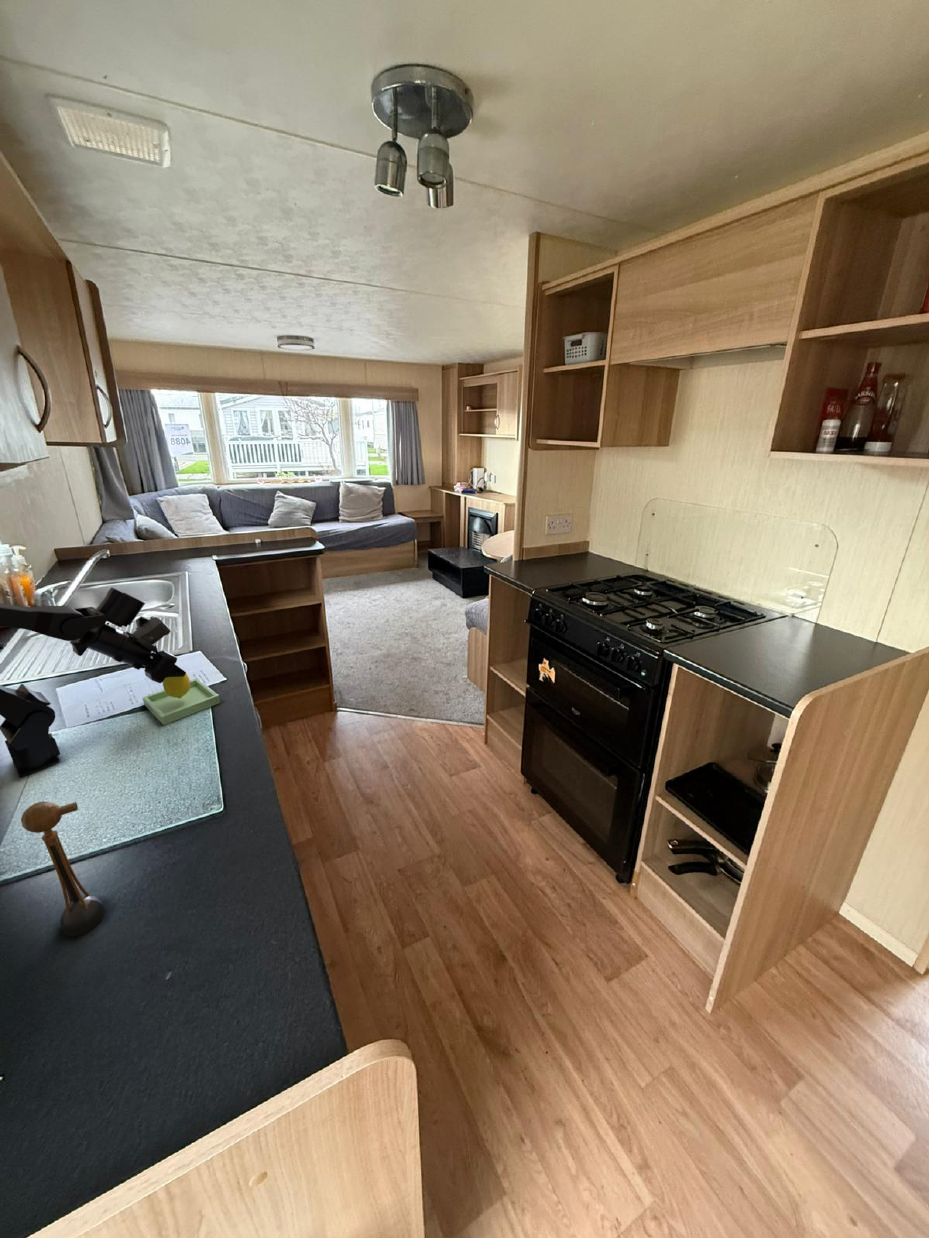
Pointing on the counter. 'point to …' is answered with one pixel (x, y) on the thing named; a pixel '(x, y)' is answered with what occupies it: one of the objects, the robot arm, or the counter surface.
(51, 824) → the wooden tabletop sculpture
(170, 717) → the tray
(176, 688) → the lemon
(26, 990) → the counter surface
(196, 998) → the counter surface
